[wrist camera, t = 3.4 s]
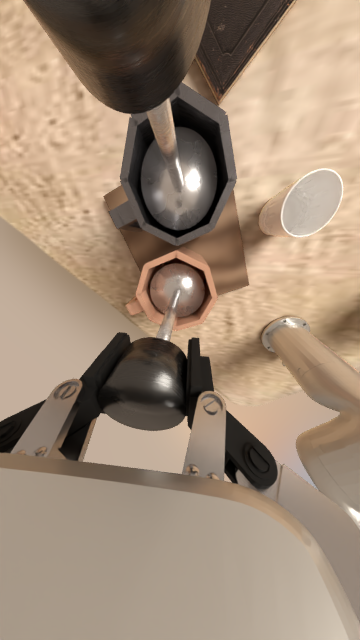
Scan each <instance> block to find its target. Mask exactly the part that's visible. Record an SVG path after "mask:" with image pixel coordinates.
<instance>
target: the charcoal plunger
mask: <svg viewBox="0 0 360 640" xmlns="http://www.w3.org/2000/svg"><path fill="white" fill-rule="evenodd" d="M23 1H24V2H25V3H26V5H27V6H28V8H29V9H30V10H31V12H32V13H33V15H34V16H35V18H36V19H37V20H38V22H39V23H40V25H41V26H42V28H43V29H44V30H45V32H46V33H47V35H48V36H49V37H50V39H51V40H52V42H53V43H54V45H55V46H56V47H57V49H58V50H59V52H60V53H61V54H62V56H63V57H64V59H65V60H66V62H67V63H68V64H69V66H70V67H71V69H72V70H73V72H74V73H75V74H76V76H77V77H78V79H79V80H80V81H81V83H82V84H83V85H84V86H85V87H86V88H87V90H88V91H89V92H90V93H91V94H92V95H93V96H95V97H96V98H97V99H98V100H99V101H101V102H102V103H103V104H105V105H106V106H108V107H110V108H112V109H114V110H116V111H119V112H123V113H128V114H138V113H144V112H146V113H147V115H148V118H149V121H150V124H151V126H152V129H153V132H154V135H155V137H156V139H155V140H154V141H153V142H152V144H151V145H150V147H149V148H148V150H147V152H146V155H145V158H144V161H143V165H142V171H141V187H142V193H143V198H144V201H145V203H146V206H147V208H148V210H149V211H150V213H151V214H152V216H153V217H154V218H155V219H156V220H157V221H158V222H159V223H160V224H162V225H163V226H165V227H167V228H169V229H173V230H185V229H188V228H191V227H193V226H195V225H196V224H197V223H199V222H200V221H201V220H202V219H203V218H204V216H205V215H206V213H207V212H208V210H209V208H210V206H211V204H212V202H213V199H214V196H215V192H216V186H217V169H216V163H215V159H214V156H213V153H212V151H211V149H210V147H209V145H208V144H207V142H206V141H205V140H204V139H203V138H202V136H201V135H199V134H198V133H197V132H195V131H193V130H191V129H189V128H185V127H174V123H173V117H172V111H171V105H170V98H169V97H170V96H171V95H172V94H173V93H174V91H175V90H176V89H177V88H178V86H179V85H180V83H181V82H182V80H183V79H184V77H185V76H186V74H187V72H188V70H189V68H190V66H191V64H192V62H193V60H194V57H195V55H196V53H197V50H198V48H199V45H200V42H201V38H202V35H203V32H204V29H205V25H206V21H207V16H208V12H209V8H210V2H211V0H23Z"/></svg>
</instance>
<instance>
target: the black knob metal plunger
mask: <svg viewBox="0 0 360 640" xmlns="http://www.w3.org/2000/svg"><path fill="white" fill-rule="evenodd" d="M204 294H205V289H204V284H203V281H202V278H201V277H200V275H199V274H198V272H197V271H196V270H194V269H193V268H192V267H190V266H188V265H185V264H182V263H173V264H169V265H166V266H164V267H162V268H161V269H160V270H159V271H158V272H157V273H156V274H155V275H154V277H153V279H152V281H151V285H150V295H151V298H152V301H153V303H154V304H155V306H156V307H157V308H158V309H159V310H160V311H161V312H163V313H164V314H165V315H164V318H163V321H162V323H161V326H160V329H159V331H158V334H157V336H156V338H154V337H148V338H141V339H139V340H136V341H134V342H132V343H131V344H130V345H129V346H128V347H127V348H126V350H125V351H124V353H123V355H122V356H121V358H120V360H119V361H118V363H117V364H116V366H115V368H114V369H113V371H112V373H111V374H110V376H109V377H108V379H107V381H106V382H105V384H104V386H103V387H102V389H101V390H100V392H99V395H98V400H99V404H100V406H101V408H102V409H103V411H104V412H105V413H106V414H107V415H108V416H110V417H111V418H112V419H114V420H116V421H117V422H119V423H121V424H124V425H126V426H129V427H132V428H136V429H141V430H149V431H158V430H165V429H169V428H173V427H175V426H177V425H178V424H179V423H181V422H182V421H183V419H184V418H185V415H186V382H187V358H186V356H185V354H184V353H183V351H182V350H181V349H180V348H179V347H178V346H176V345H175V344H173V343H171V342H170V338H171V334H172V329H173V325H174V321H175V317H184V316H188V315H190V314H192V313H193V312H195V311H196V310H197V309H198V308H199V307H200V305H201V304H202V302H203V299H204Z"/></svg>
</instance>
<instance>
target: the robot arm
mask: <svg viewBox="0 0 360 640" xmlns="http://www.w3.org/2000/svg"><path fill="white" fill-rule="evenodd" d="M261 341H262V344H263V345H264V347H265V348H266V349H267V350H269V351H271V352H275V353H276V354H277V355H278V357H279V358H280V359H281V361H282V365H283V366H286V367H287V369H288V370H289V371H290V373H291V374H292V375H293V377H294V378H295V379H296V381H297V382H298V384H299V385H300V386H301V388H302V389H303V390H304V392H305V393H306V394H307V395H308V396H309V397H310V398H311V399H312V400H314V401H315V402H317V403H319V404H321V405H323V406H325V407H327V408H330V409H332V410H335V411H338V412H340V415H339V416H338V417H335V418H334V419H332V420H331V421H329V422H326V423H324V424H321V425H319V426H317V427H315V428H312V429H310V430H307V431H305V432H304V433H302V434H300V435H299V436H298V438H297V440H296V449H297V452H298V455H299V458H300V460H301V462H302V464H303V466H304V468H305V469H306V471H307V473H308V475H309V476H310V478H311V479H312V481H313V482H314V484H315V485H316V487H317V488H318V490H319V491H318V490H317V489H316V488H314V487H313V486H312V485H311V484H309V483H308V482H307V481H305V480H304V479H303V478H301V477H300V476H299V475H297V474H296V473H295V472H293V471H292V470H291V469H290V468H288V467H287V466H286V465H284V464H283V465H281V464H280V463H278V462H277V461H276V460H275V459H274V457H273V456H272V454H271V453H270V451H269V450H268V449H267V448H266V447H265V446H264V445H263V444H262V443H261V442H260V441H259V440H258V439H257V438H256V437H255V436H254V435H253V434H251V433H250V432H249V431H248V430H247V429H246V428H245V427H244V426H243V425H242V424H241V423H240V422H239V421H238V420H236V419H235V418H234V417H233V416H232V415H231V414H230V413H229V412H228V411H227V410H226V404H225V401H224V399H223V398H222V397H221V396H220V395H219V394H218V393H215V392H214V388H213V381H212V373H211V366H210V359H209V357H204V356H200V344H199V338H192V339H189V342H188V356H187V382H186V415H185V416H188V426H189V428H190V429H191V434H190V439H189V444H188V448H187V453H186V457H185V462H184V467H183V472H182V474H176V473H168V472H160V471H152V470H144V469H137V468H129V467H121V466H113V465H105V464H97V463H88V462H83V459H84V456H85V453H86V450H87V447H88V444H89V441H90V438H91V435H92V431H93V428H94V425H95V423H96V419H97V417H98V416H99V415H100V413H104V414H106V413H105V412H104V411H103V409H102V408H101V406H100V404H99V400H98V395H99V392H100V390H101V389H102V387H103V386H104V384H105V382H106V381H107V379H108V377H109V376H110V374H111V373H112V371H113V369H114V368H115V366H116V364H117V363H118V361H119V360H120V358H121V356H122V355H123V353H124V351H125V350H126V348H127V347H128V346H129V345H130V344H131V343H130V337H129V335H127V333H120V332H119V333H117V334H116V336H115V337H114V338H113V339H112V341H111V342H110V343H109V344H108V345H107V347H106V348H105V349H104V350H103V351H102V352H101V353H100V355H99V356H98V357H97V358H96V359H95V361H94V362H93V363H92V364H91V366H90V367H89V368H88V369H87V370H86V372H85V373H84V374H83V375H82V377H81V378H80V379H79V380H78V379H71V380H67V381H65V382H63V383H61V384H59V385H58V386H57V387H56V388H55V389H54V390H53V391H52V392H51V394H50V395H49V397H48V398H47V399H46V400H44V401H42V402H40V403H38V404H36V405H33V406H31V407H29V408H27V409H25V410H23V411H21V412H19V413H17V414H15V415H12V416H11V417H8V418H6V419H4V420H3V421H1V422H0V640H360V372H359V371H358V370H357V369H355V368H354V367H353V366H352V365H350V364H349V363H348V362H346V361H345V360H344V359H343V358H341V357H340V356H339V355H338V354H336V353H335V352H334V351H332V350H331V349H330V348H329V347H327V346H326V345H325V344H323V343H322V342H321V341H320V340H318V339H317V338H316V337H315V336H313V335H312V334H311V333H310V327H309V325H308V323H307V322H306V321H304V320H303V319H301V318H299V317H294V316H288V317H282V318H279V319H277V320H275V321H273V322H272V323H270V324H269V325H268V326H267V327H266V328H265V329H264V331H263V333H262V336H261ZM224 473H225V474H226V475H227V476H228V478H229V479H230V480H231V481H232V483H231V482H226V481H224Z"/></svg>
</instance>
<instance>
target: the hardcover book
mask: <svg viewBox="0 0 360 640" xmlns="http://www.w3.org/2000/svg"><path fill="white" fill-rule="evenodd" d="M295 2H296V0H211V2H210V8H209V12H208V16H207V21H206V25H205V29H204V32H203V35H202V38H201V42H200V45H199V48H198V50H197V53H196V55H195V59H196V61H197V63H198V65H199V67H200V69H201V71H202V73H203V75H204V77H205V79H206V81H207V83H208V85H209V87H210V89H211V91H212V93H213V95H214V97H215V99H216V101H217V103H218V105H219V104H220V102H221V101H222V100H223V98H224V97H225V96H226V94H227V93H228V92H229V90H230V89H231V88H232V86H233V85H234V84H235V82H236V81H237V80H238V78H239V77H240V76H241V74H242V73H243V72H244V70H245V69H246V68H247V66H248V65H249V63H250V62H251V61H252V59H253V58H254V57H255V55H256V54H257V53H258V51H259V50H260V49H261V47H262V46H263V45H264V43H265V42H266V41H267V39H268V38H269V37H270V35H271V34H272V33H273V31H274V30H275V29H276V27H277V26H278V24H279V23H280V22H281V20H282V19H283V18H284V16H285V15H286V14H287V12H288V11H289V10H290V8H291V7H292V6H293V4H294V3H295Z"/></svg>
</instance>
